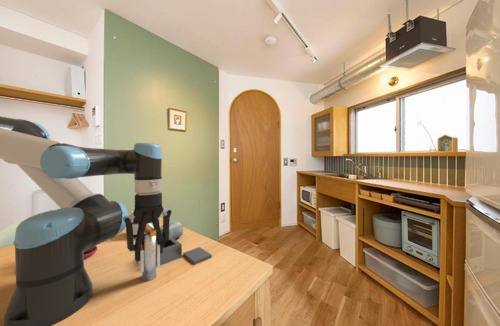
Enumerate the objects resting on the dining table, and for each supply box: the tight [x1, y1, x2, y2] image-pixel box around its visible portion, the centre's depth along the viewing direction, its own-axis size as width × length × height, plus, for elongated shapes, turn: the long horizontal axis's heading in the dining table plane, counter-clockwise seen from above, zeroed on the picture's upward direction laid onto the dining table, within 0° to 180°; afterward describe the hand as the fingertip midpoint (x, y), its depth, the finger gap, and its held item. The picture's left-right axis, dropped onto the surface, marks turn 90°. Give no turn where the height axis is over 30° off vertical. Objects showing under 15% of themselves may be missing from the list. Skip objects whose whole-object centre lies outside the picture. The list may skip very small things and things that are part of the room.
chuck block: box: [156, 237, 183, 266], centre depth 71 cm, size 9×9×5 cm
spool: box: [156, 220, 184, 242], centre depth 86 cm, size 14×10×10 cm
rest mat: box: [182, 246, 213, 265], centre depth 72 cm, size 7×9×1 cm
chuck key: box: [141, 224, 158, 282], centre depth 59 cm, size 4×8×16 cm, turn 44°
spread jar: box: [131, 211, 154, 238], centre depth 93 cm, size 12×11×12 cm
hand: (149, 267), depth 59 cm, fingers closed on chuck key, 4 cm apart
